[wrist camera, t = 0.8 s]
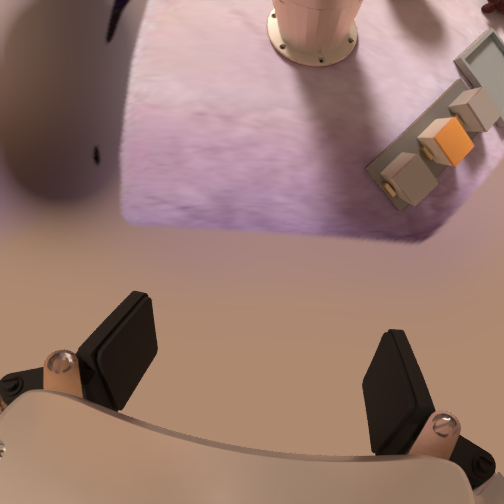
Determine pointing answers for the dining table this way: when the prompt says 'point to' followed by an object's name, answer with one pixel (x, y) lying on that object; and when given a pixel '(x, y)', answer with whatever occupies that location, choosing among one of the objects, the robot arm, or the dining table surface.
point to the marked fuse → (446, 141)
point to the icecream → (493, 6)
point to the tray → (486, 67)
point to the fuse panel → (417, 142)
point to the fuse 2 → (476, 109)
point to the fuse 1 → (410, 178)
